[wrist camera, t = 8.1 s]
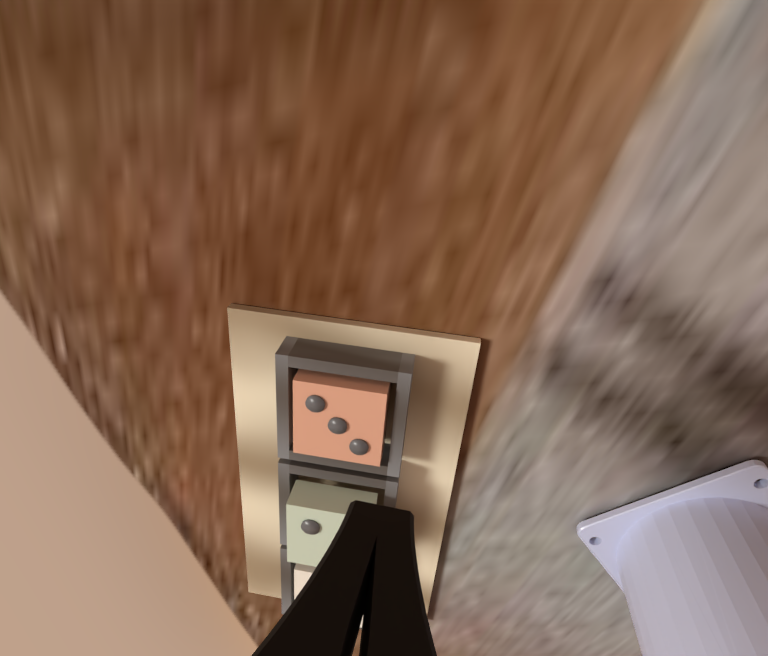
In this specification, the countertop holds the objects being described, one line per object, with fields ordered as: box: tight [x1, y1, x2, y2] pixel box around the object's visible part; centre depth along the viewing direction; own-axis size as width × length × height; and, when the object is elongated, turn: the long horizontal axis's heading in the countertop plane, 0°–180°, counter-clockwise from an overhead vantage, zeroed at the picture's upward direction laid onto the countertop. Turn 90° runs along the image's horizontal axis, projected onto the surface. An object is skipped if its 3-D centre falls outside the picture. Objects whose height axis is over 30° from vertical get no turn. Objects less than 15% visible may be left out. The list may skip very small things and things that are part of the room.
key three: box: [293, 369, 391, 467], centre depth 21 cm, size 4×4×2 cm
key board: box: [227, 303, 481, 629], centre depth 24 cm, size 18×10×2 cm, turn 175°
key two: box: [286, 480, 378, 567], centre depth 23 cm, size 4×4×2 cm
